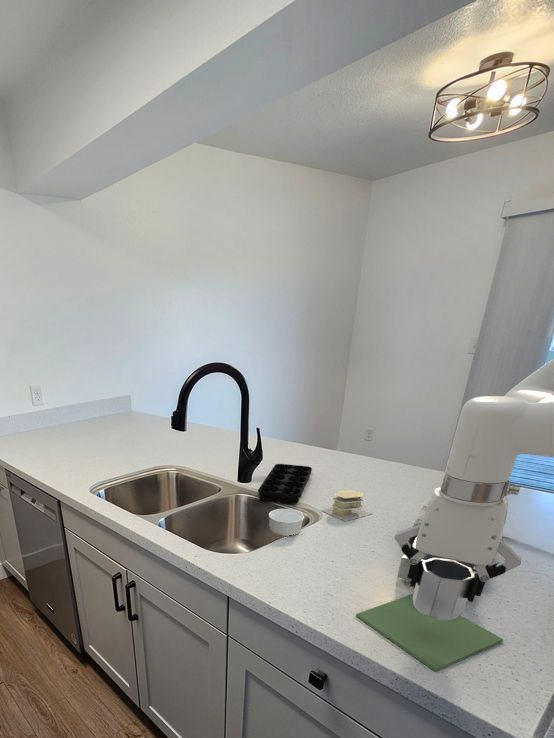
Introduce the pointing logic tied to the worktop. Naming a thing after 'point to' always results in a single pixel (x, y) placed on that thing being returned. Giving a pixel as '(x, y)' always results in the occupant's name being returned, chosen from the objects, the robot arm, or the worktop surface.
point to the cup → (442, 588)
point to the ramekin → (285, 521)
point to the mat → (428, 633)
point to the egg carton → (284, 483)
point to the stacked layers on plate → (347, 506)
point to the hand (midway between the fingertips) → (441, 589)
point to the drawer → (406, 564)
